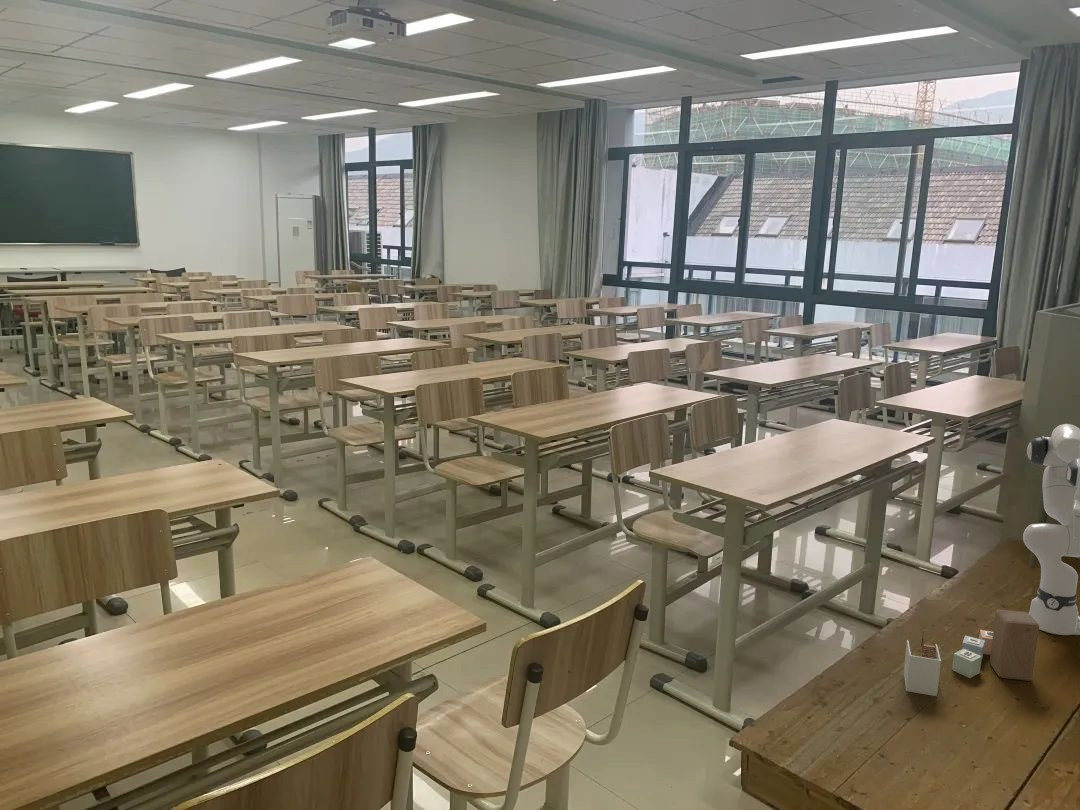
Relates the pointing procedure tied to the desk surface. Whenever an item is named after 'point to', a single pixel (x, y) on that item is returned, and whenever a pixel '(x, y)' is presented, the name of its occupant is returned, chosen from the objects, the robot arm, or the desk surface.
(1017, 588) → the desk surface
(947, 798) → the desk surface
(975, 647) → the tile cube slate
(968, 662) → the tile cube sage
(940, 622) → the desk surface
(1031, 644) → the wooden block
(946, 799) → the desk surface
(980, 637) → the tile cube terracotta
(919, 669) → the tall white open bin
